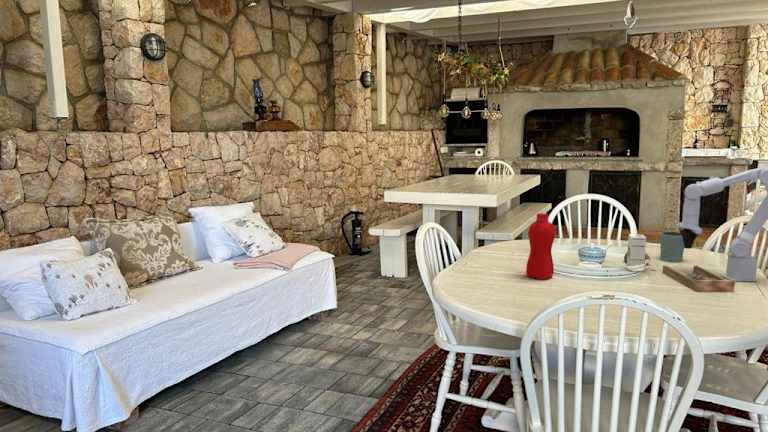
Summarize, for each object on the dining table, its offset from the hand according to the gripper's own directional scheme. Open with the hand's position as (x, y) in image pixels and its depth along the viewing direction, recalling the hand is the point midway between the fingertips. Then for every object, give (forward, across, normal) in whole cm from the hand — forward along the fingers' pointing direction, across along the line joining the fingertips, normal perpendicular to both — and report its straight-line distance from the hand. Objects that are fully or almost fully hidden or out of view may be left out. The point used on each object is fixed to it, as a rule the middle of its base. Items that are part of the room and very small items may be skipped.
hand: (687, 248), depth 226 cm
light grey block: (+10, -16, -13) cm, 23 cm away
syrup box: (+10, -3, -19) cm, 22 cm away
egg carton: (+10, +18, -4) cm, 22 cm away
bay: (+10, +13, -3) cm, 17 cm away
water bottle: (+10, +7, -60) cm, 61 cm away
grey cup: (+10, -20, +4) cm, 23 cm away
